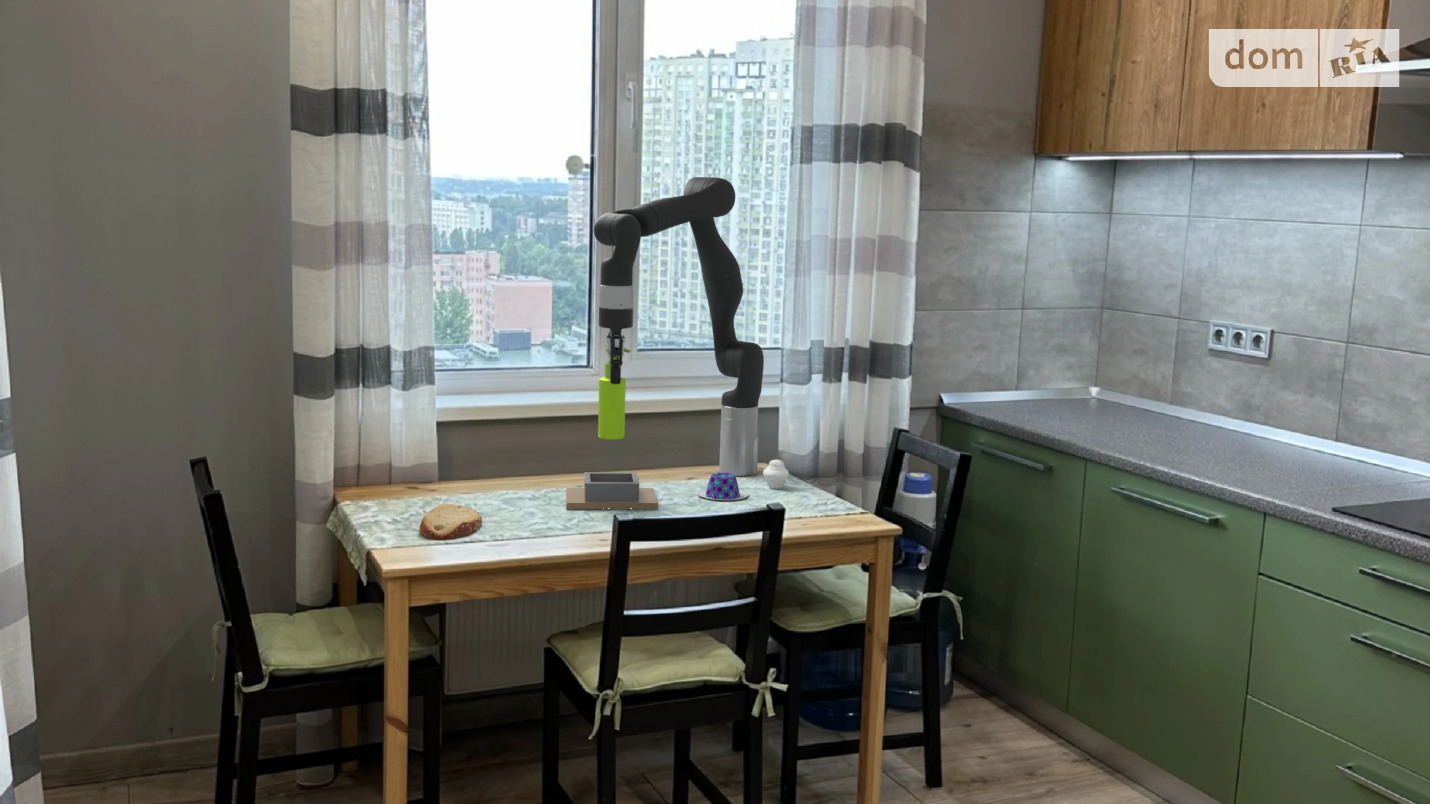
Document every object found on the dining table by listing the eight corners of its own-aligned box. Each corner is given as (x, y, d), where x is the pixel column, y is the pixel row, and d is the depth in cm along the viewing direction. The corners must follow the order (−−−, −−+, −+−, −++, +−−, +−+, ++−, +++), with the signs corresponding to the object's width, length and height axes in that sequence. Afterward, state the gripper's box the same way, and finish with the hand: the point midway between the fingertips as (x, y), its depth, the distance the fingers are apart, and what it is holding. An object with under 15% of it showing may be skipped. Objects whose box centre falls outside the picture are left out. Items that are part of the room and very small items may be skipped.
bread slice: (457, 511, 267) (457, 494, 266) (510, 528, 255) (510, 510, 254) (385, 526, 253) (385, 508, 253) (438, 544, 242) (438, 526, 241)
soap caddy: (653, 494, 286) (653, 471, 285) (657, 509, 272) (658, 485, 271) (566, 494, 283) (566, 470, 282) (566, 509, 270) (566, 485, 269)
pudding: (687, 498, 284) (688, 476, 283) (710, 488, 295) (711, 466, 294) (735, 505, 279) (736, 483, 278) (756, 494, 290) (757, 473, 289)
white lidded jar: (788, 485, 299) (790, 457, 298) (787, 491, 293) (789, 462, 292) (763, 483, 300) (764, 455, 299) (761, 489, 294) (762, 461, 293)
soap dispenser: (627, 440, 272) (629, 350, 269) (596, 438, 272) (598, 349, 269) (630, 434, 278) (632, 346, 275) (599, 433, 278) (601, 345, 275)
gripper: (635, 309, 264) (633, 386, 267) (631, 303, 278) (629, 376, 281) (600, 308, 263) (598, 386, 266) (597, 302, 277) (596, 376, 280)
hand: (614, 381), depth 273 cm, fingers closed on soap dispenser, 6 cm apart
